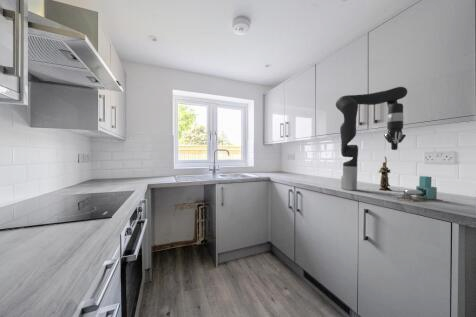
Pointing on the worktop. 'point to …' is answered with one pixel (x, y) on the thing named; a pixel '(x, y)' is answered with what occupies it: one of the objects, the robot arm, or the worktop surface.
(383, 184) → the figurine
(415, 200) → the board
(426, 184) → the sleeve
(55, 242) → the worktop surface
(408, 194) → the pipe
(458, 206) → the worktop surface
